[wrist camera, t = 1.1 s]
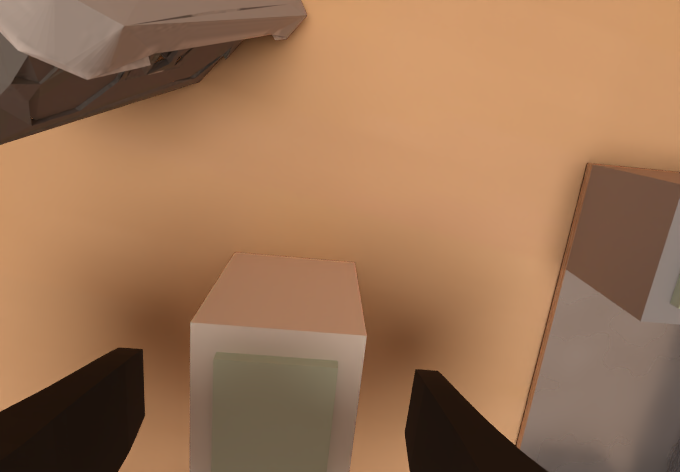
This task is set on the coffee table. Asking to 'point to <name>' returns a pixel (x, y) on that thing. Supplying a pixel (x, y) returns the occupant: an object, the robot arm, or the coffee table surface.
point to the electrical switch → (117, 52)
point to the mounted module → (631, 241)
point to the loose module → (276, 366)
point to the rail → (602, 384)
